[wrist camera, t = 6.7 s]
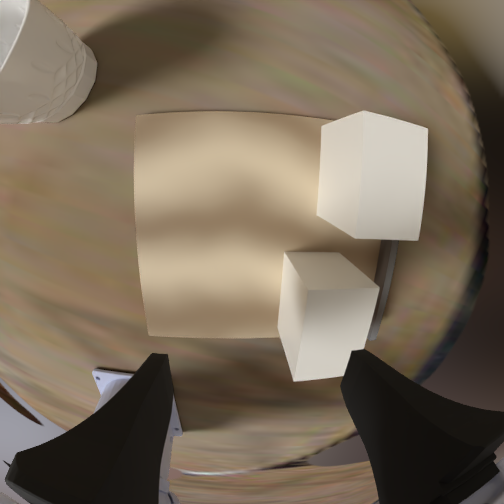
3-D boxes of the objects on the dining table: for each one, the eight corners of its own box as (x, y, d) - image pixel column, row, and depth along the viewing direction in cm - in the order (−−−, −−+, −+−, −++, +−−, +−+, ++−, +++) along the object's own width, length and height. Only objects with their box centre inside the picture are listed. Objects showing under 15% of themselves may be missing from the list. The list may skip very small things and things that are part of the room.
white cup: (118, 36, 13) (55, -29, 4) (88, 132, 15) (-9, 120, 6) (44, 45, 12) (-27, 11, 3) (19, 131, 14) (-69, 131, 5)
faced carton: (375, 135, 16) (428, 128, 11) (369, 218, 18) (419, 241, 13) (321, 125, 16) (363, 110, 10) (316, 215, 18) (354, 238, 12)
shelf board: (364, 325, 22) (375, 339, 20) (151, 330, 20) (144, 346, 18) (391, 134, 17) (408, 132, 15) (139, 117, 16) (128, 111, 13)
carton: (339, 252, 19) (380, 287, 13) (327, 324, 21) (356, 373, 15) (284, 251, 18) (308, 290, 13) (277, 327, 20) (293, 381, 15)
